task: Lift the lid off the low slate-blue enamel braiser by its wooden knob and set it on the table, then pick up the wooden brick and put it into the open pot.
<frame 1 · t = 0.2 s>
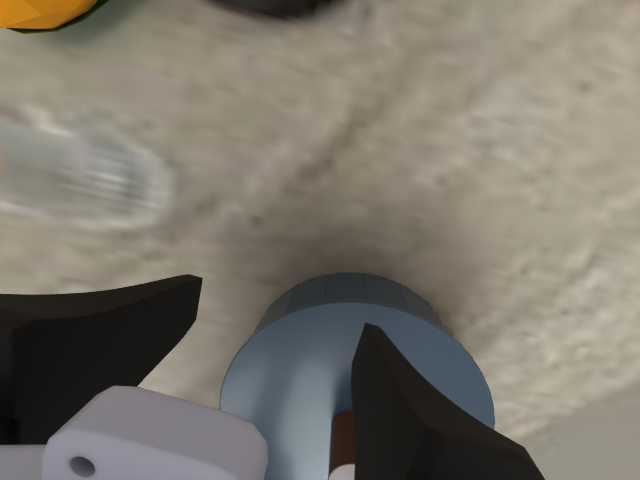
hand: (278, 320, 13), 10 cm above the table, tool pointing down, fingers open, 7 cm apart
pot lid: (351, 421, 19), point 5 cm above the table, touching pot
pot: (349, 366, 24), on the table
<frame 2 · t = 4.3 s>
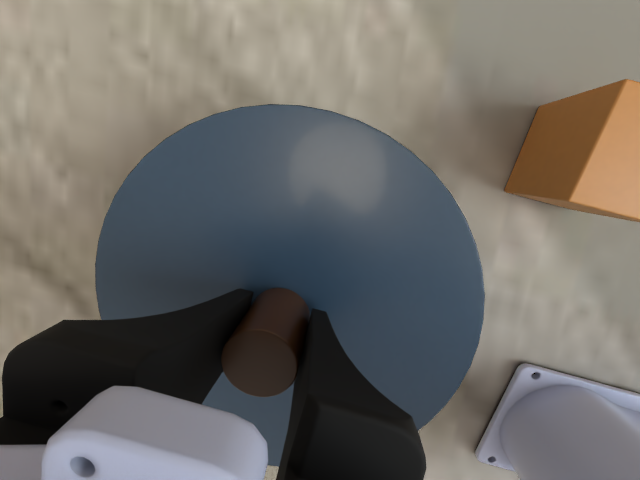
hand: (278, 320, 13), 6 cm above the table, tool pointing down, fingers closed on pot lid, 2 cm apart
pot lid: (282, 309, 14), point 5 cm above the table, touching gripper, pot
wooden brick: (556, 159, 16), on the table
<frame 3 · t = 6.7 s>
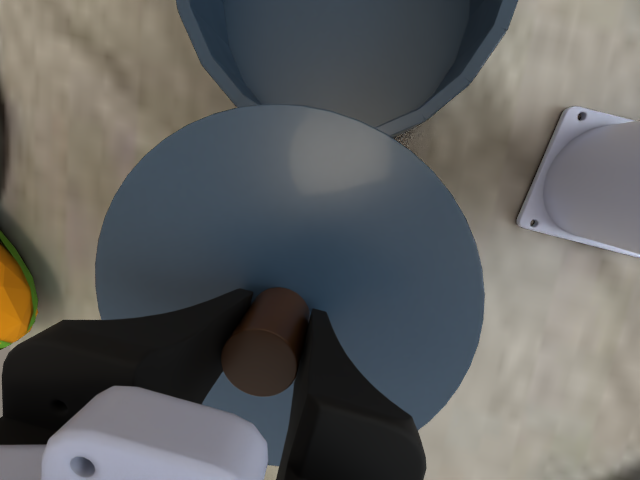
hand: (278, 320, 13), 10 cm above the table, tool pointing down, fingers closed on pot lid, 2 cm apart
pot lid: (282, 309, 13), point 9 cm above the table, touching gripper
pot: (343, 14, 19), on the table
when the fingers open (2 cm above the table, at t = 9.5 s): pot lid stays where it is, point 1 cm above the table.
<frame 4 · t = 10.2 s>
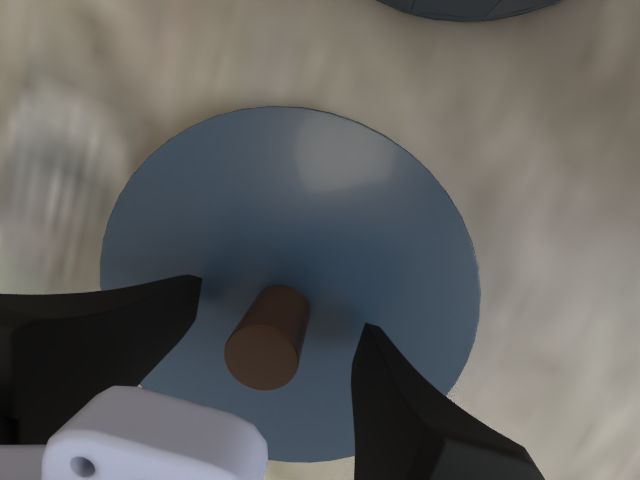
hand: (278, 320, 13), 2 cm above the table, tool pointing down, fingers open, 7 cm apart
pot lid: (283, 306, 14), point 1 cm above the table
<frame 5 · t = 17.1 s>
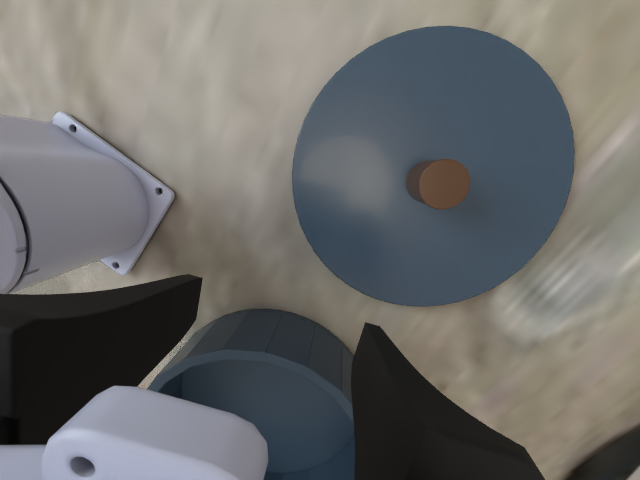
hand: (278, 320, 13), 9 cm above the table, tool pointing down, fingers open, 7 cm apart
pot lid: (424, 181, 19), point 1 cm above the table
pot: (270, 397, 25), on the table
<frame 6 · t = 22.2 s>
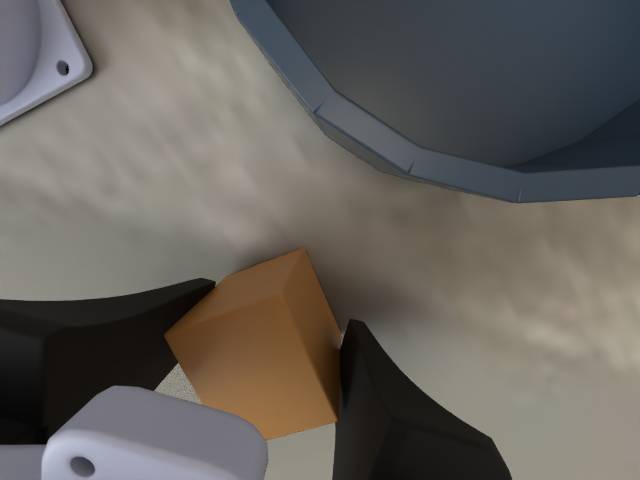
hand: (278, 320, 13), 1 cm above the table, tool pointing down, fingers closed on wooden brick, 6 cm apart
wooden brick: (284, 305, 14), on the table, touching gripper
when the fingers open (2 cm above the table, at t = 27.8 s): wooden brick stays where it is, resting on pot.
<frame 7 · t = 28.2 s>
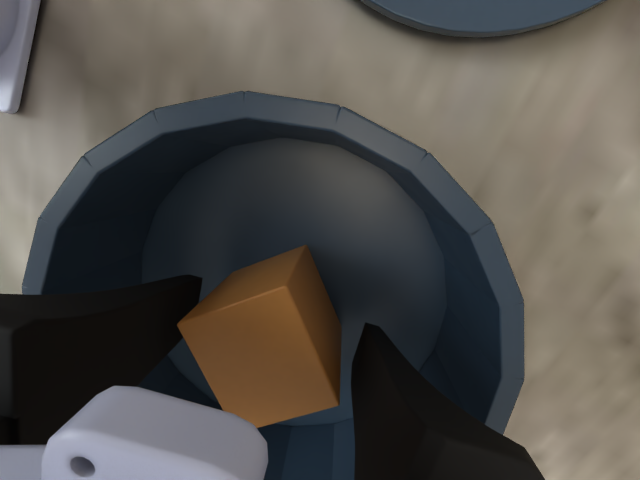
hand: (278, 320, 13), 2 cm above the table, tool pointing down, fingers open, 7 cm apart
wooden brick: (287, 299, 15), resting on pot
pot: (289, 296, 15), on the table
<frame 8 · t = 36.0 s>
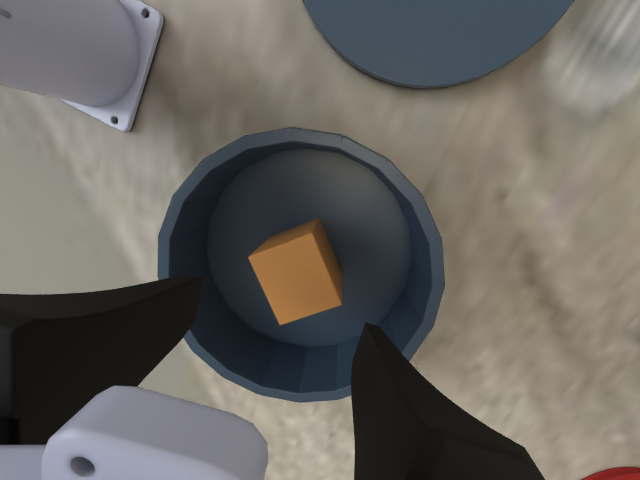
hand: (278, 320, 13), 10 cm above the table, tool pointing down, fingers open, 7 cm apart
wooden brick: (306, 255, 22), resting on pot
pot: (307, 254, 22), on the table
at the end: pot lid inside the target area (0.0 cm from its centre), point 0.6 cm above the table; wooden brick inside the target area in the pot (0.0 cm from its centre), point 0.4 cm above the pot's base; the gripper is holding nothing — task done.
